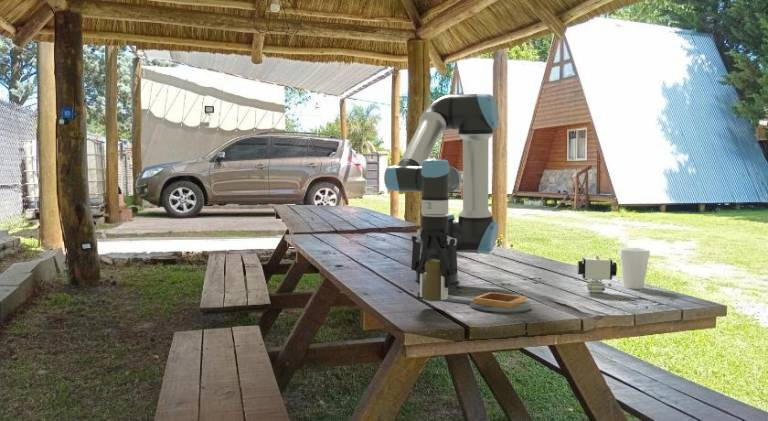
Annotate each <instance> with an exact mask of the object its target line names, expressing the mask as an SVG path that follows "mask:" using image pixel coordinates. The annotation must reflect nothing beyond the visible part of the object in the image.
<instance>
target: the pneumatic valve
mask: <svg viewBox="0 0 768 421" xmlns="http://www.w3.org/2000/svg"><path fill="white" fill-rule="evenodd" d="M576 264H577V266H576V267H577V268H576V270H577V275H581V277H582V279H587V280H588V279H589V280H590V281H588V282H587V289H586V290H587V291H589V292H590V293H593V294H594V293H595V294H603V293H604V292H605V291H606V284H605V283H603V282H602V280H608V281H609V280H611V281H612V280H613V277H616V276H617V272H618V267H617V262H615V261H614V262H613V260H612V258H606V257H605V258H604V257H603V258H601V257H600V258H599V255H595V257H581V259H580V260H578V261H577V263H576Z"/></svg>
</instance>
